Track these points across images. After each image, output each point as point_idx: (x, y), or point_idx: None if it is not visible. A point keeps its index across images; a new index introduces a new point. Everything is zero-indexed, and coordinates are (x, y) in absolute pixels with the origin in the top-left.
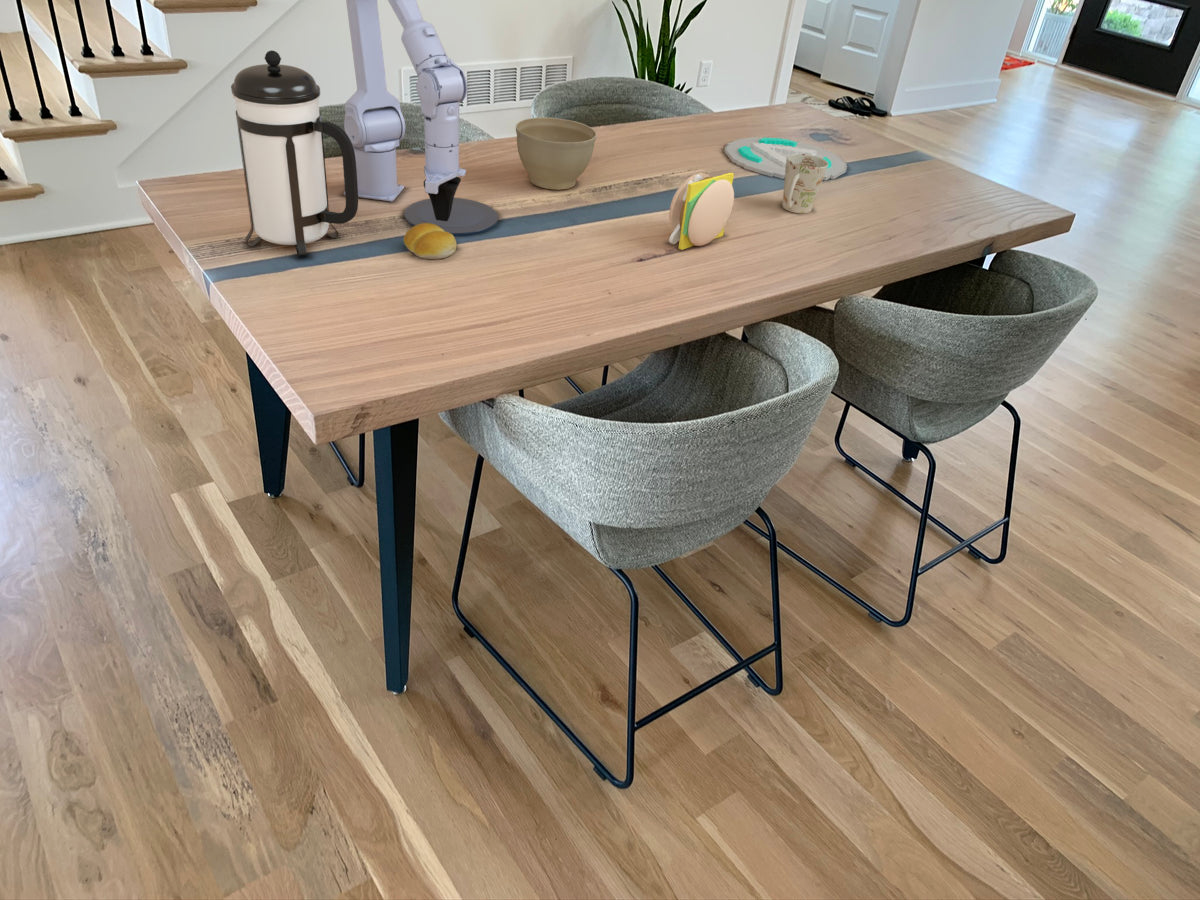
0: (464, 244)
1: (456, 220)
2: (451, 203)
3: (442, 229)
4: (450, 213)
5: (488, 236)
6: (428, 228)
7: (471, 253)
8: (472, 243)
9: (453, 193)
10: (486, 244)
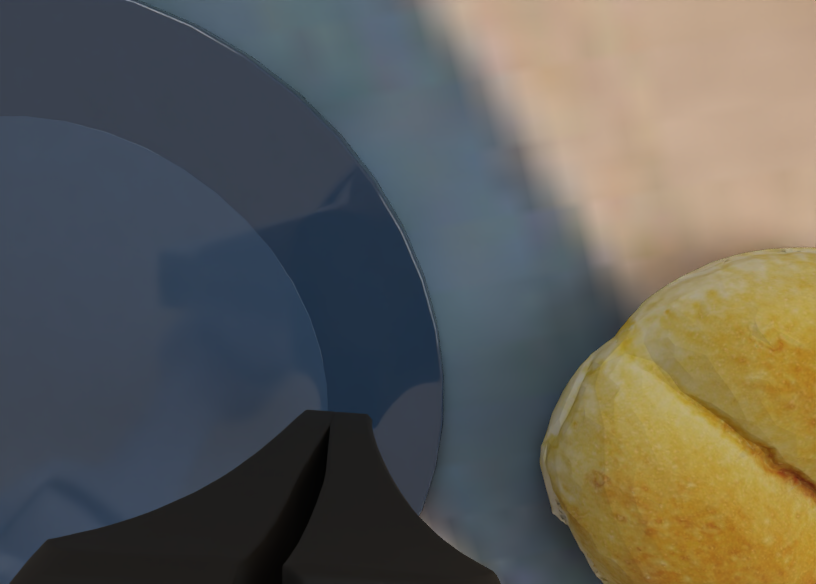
0: (589, 198)
1: (165, 342)
2: (301, 470)
3: (648, 424)
4: (293, 421)
5: (361, 14)
6: (808, 548)
7: (771, 108)
8: (553, 135)
9: (335, 532)
10: (549, 3)
